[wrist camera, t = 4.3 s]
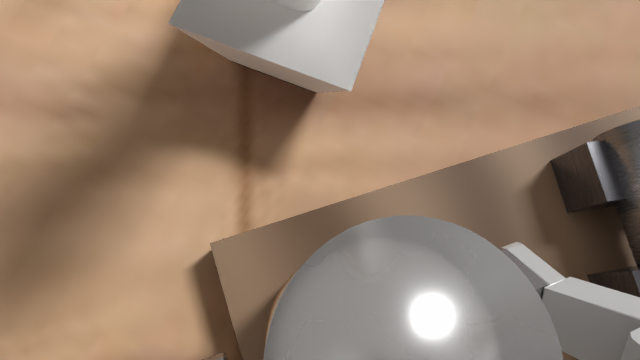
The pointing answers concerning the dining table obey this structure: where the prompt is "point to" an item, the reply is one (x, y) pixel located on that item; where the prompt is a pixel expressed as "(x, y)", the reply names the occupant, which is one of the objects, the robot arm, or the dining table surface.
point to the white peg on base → (286, 36)
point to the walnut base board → (442, 203)
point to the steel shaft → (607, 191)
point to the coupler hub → (409, 299)
